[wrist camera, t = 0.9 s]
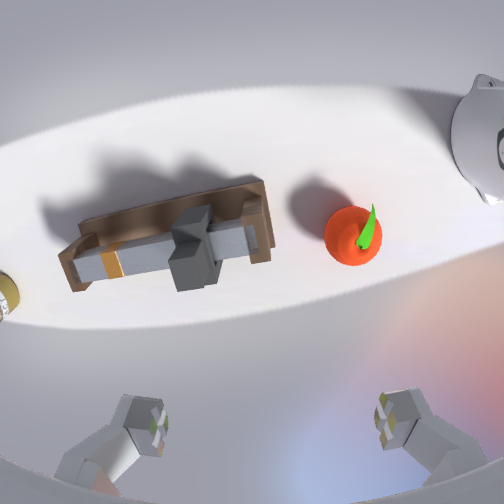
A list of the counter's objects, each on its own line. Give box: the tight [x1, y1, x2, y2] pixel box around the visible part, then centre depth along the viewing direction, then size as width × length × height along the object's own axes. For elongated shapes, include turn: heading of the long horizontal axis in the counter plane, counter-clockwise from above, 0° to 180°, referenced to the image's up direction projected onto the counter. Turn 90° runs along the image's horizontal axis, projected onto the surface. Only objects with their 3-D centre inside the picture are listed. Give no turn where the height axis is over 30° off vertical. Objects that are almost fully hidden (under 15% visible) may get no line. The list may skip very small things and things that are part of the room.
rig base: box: [58, 181, 275, 292], centre depth 37 cm, size 25×8×8 cm, turn 101°
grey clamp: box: [168, 204, 223, 292], centre depth 32 cm, size 3×6×10 cm, turn 11°
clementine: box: [324, 204, 382, 266], centre depth 36 cm, size 8×7×7 cm
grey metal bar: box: [69, 218, 259, 284], centre depth 34 cm, size 22×3×3 cm, turn 101°
